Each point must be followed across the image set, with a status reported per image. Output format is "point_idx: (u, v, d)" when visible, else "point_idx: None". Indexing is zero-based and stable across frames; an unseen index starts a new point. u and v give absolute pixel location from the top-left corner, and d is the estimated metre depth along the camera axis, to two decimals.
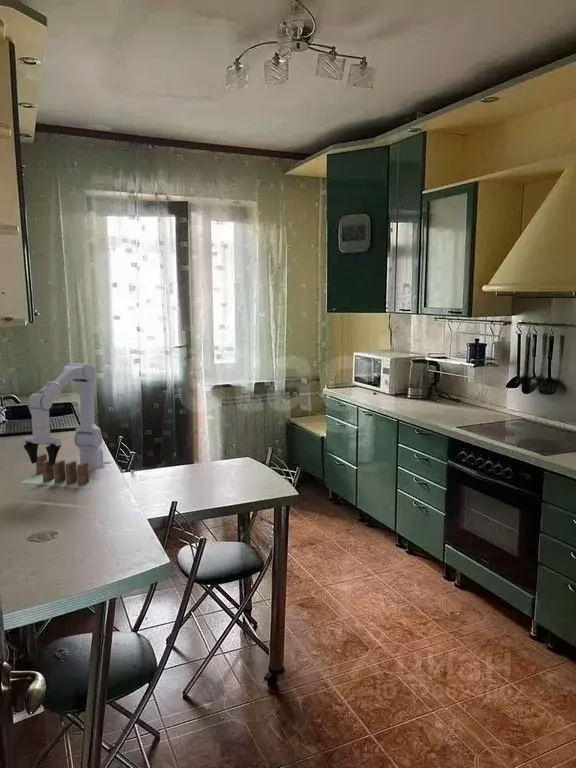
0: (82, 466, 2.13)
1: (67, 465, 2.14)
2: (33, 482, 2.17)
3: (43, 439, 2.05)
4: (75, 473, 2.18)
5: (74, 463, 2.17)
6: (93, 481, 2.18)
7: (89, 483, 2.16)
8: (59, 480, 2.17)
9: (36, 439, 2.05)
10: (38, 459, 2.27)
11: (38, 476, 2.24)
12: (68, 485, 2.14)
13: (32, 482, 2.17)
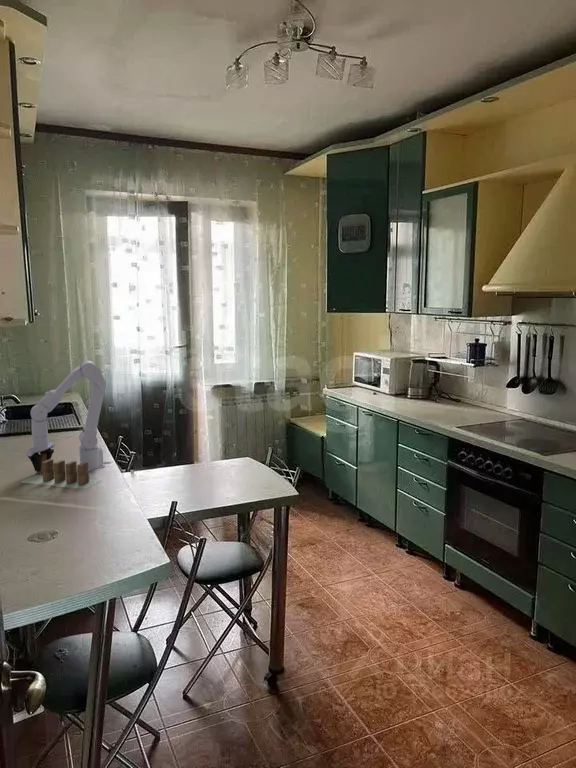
0: (82, 466, 2.13)
1: (67, 465, 2.14)
2: (33, 482, 2.17)
3: (32, 446, 2.26)
4: (75, 473, 2.18)
5: (74, 463, 2.17)
6: (93, 481, 2.18)
7: (89, 483, 2.16)
8: (59, 480, 2.17)
9: None
10: None
11: (38, 476, 2.24)
12: (68, 485, 2.14)
13: (32, 482, 2.17)
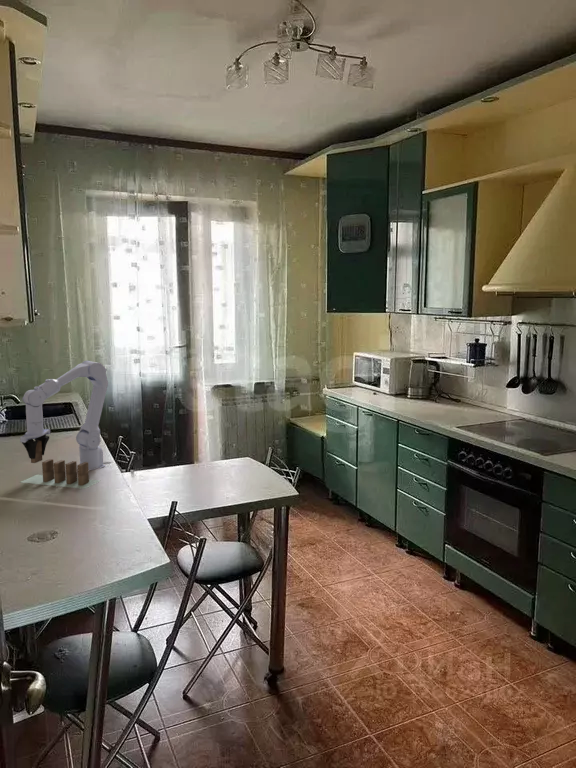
0: (82, 466, 2.13)
1: (67, 465, 2.14)
2: (33, 482, 2.17)
3: (27, 433, 2.18)
4: (75, 473, 2.18)
5: (74, 463, 2.17)
6: (93, 481, 2.18)
7: (89, 483, 2.16)
8: (59, 480, 2.17)
9: None
10: None
11: (38, 476, 2.24)
12: (68, 485, 2.14)
13: (32, 482, 2.17)
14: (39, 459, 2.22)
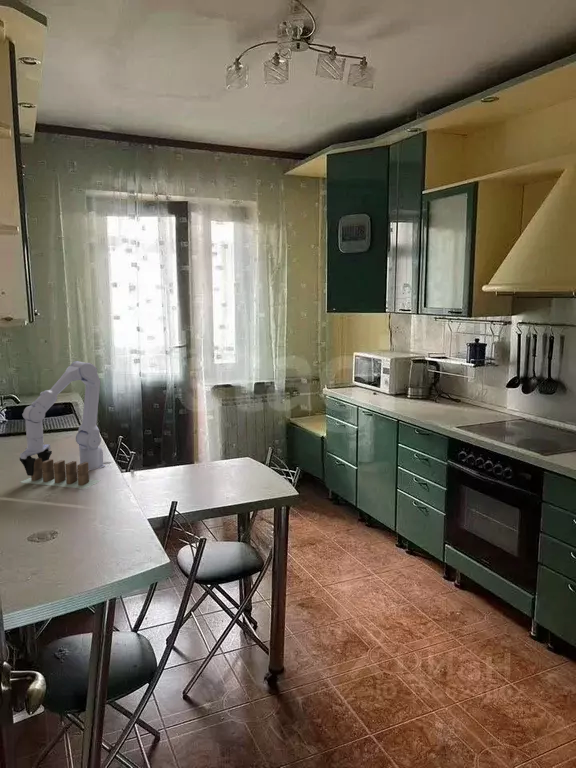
0: (82, 466, 2.13)
1: (67, 465, 2.14)
2: (33, 482, 2.17)
3: (27, 449, 2.18)
4: (75, 473, 2.18)
5: (74, 463, 2.17)
6: (93, 481, 2.18)
7: (89, 483, 2.16)
8: (59, 480, 2.17)
9: None
10: None
11: None
12: (68, 485, 2.14)
13: (32, 482, 2.17)
14: (39, 477, 2.21)
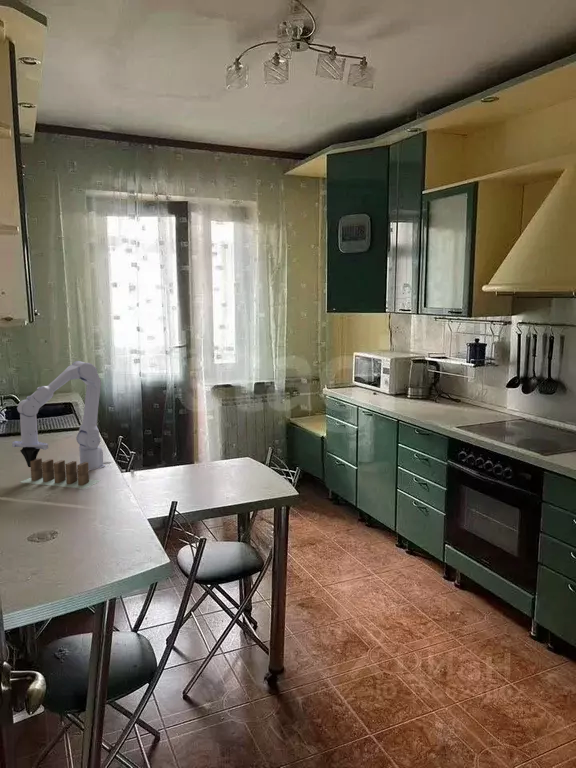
0: (82, 466, 2.13)
1: (67, 465, 2.14)
2: (33, 482, 2.17)
3: (31, 443, 2.17)
4: (75, 473, 2.18)
5: (74, 463, 2.17)
6: (93, 481, 2.18)
7: (89, 483, 2.16)
8: (59, 480, 2.17)
9: (24, 443, 2.17)
10: (33, 464, 2.18)
11: None
12: (68, 485, 2.14)
13: (32, 482, 2.17)
14: (39, 477, 2.21)
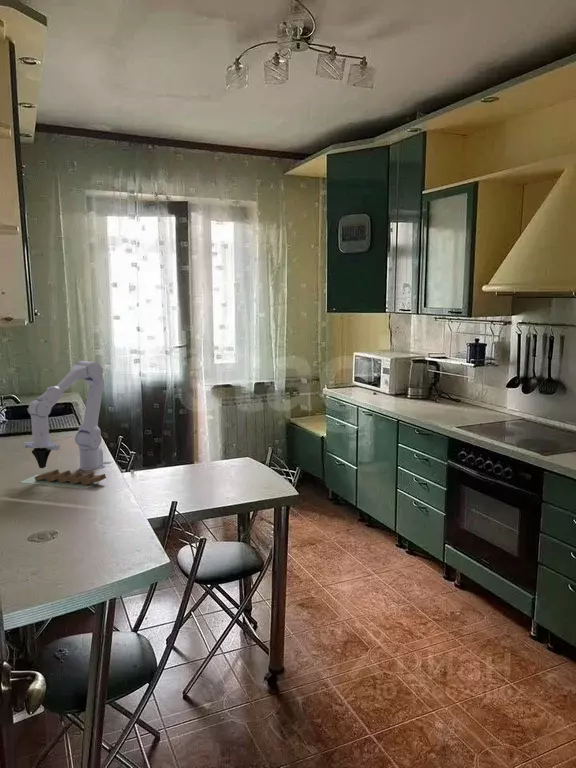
0: None
1: (86, 477, 2.13)
2: (33, 482, 2.17)
3: (42, 444, 2.16)
4: None
5: (91, 477, 2.16)
6: None
7: None
8: None
9: (36, 444, 2.16)
10: (49, 476, 2.17)
11: None
12: (68, 485, 2.14)
13: (32, 482, 2.17)
14: None
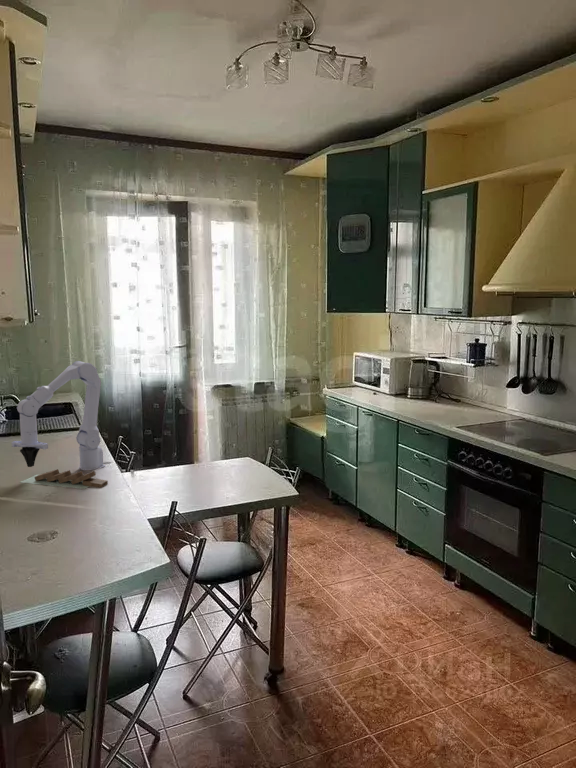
0: None
1: (87, 476, 2.13)
2: (33, 482, 2.17)
3: (31, 443, 2.17)
4: None
5: (92, 476, 2.16)
6: None
7: None
8: (62, 482, 2.17)
9: (24, 443, 2.17)
10: (49, 476, 2.17)
11: None
12: (68, 485, 2.14)
13: (32, 482, 2.17)
14: None
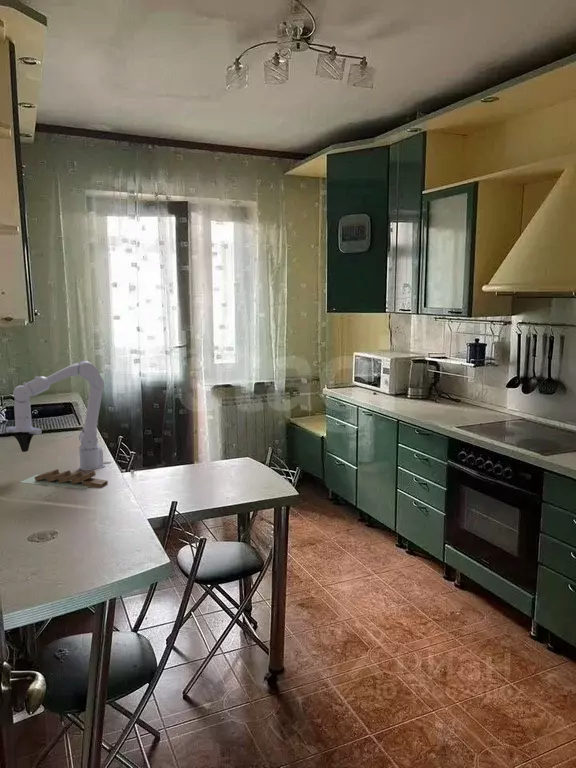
0: None
1: (87, 476, 2.13)
2: (33, 482, 2.17)
3: (25, 428, 2.22)
4: None
5: (92, 476, 2.16)
6: None
7: None
8: (62, 482, 2.17)
9: (18, 428, 2.21)
10: (49, 476, 2.17)
11: None
12: (68, 485, 2.14)
13: (32, 482, 2.17)
14: None
